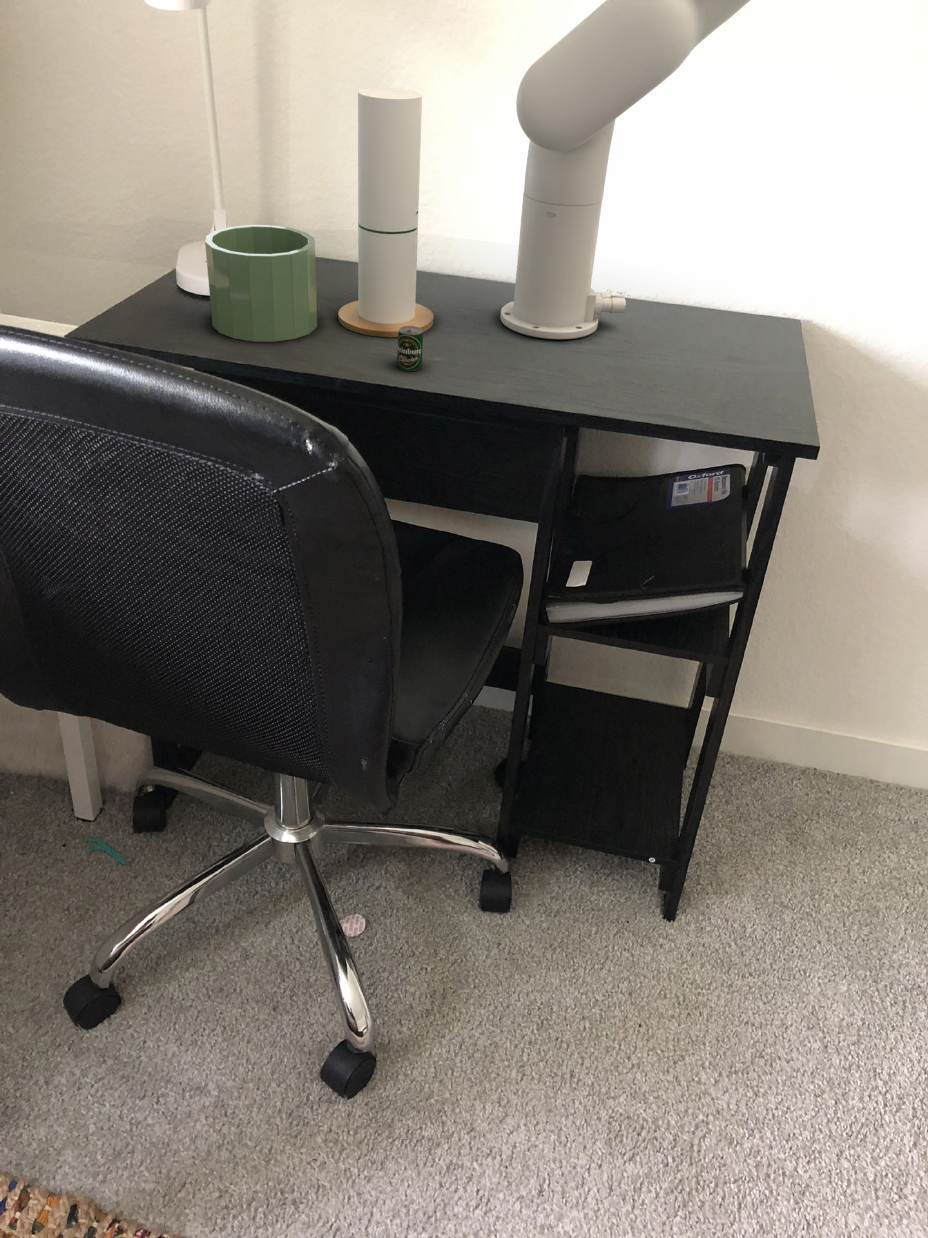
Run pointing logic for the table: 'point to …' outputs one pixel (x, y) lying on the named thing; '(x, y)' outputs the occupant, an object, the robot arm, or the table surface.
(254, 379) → the table surface
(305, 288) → the crock
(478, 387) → the table surface
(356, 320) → the coaster
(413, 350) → the beer can
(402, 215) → the cylindrical container
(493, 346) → the table surface
